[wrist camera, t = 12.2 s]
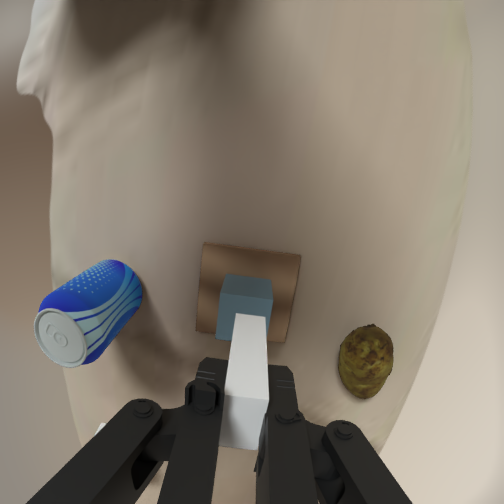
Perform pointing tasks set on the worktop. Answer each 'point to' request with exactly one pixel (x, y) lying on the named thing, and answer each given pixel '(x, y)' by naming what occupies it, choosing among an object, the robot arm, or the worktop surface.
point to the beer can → (87, 313)
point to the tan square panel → (251, 265)
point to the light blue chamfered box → (242, 302)
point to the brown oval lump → (365, 360)
